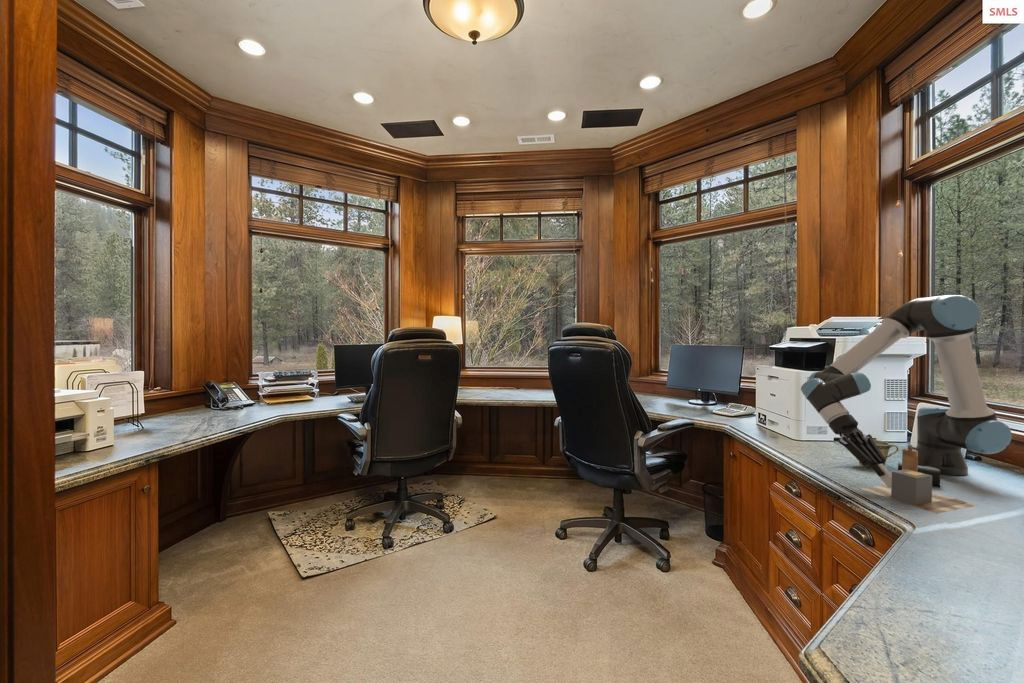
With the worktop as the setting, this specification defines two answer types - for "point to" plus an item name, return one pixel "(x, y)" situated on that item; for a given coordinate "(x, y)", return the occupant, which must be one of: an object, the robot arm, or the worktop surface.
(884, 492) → the birch board
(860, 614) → the worktop surface
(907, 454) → the wooden tool handle
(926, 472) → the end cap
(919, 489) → the grey box with label
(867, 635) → the worktop surface
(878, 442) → the ceramic cup
